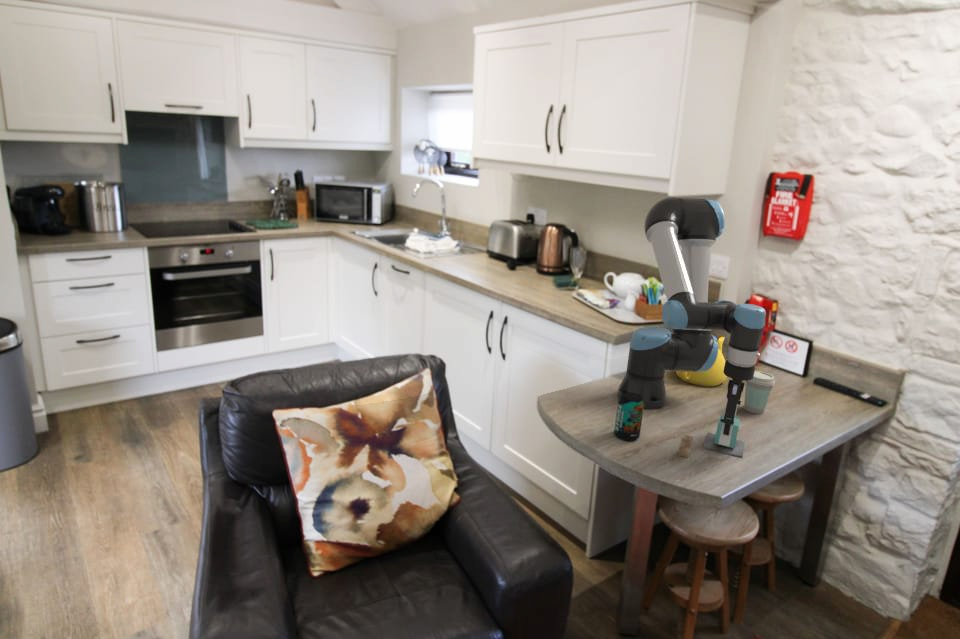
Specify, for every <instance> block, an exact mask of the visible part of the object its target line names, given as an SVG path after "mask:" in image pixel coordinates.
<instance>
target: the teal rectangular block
mask: <svg viewBox="0 0 960 639" xmlns="http://www.w3.org/2000/svg"><path fill="white" fill-rule="evenodd" d="M724 415H725V414H720V415H719V418H718V422H717V427H716V433H715V434H716V437H715V442H714V443H715V444H718V443H719V438H720V433H721V428H722V423H723V422H720V420H721V419H724ZM727 419H729V418H727ZM740 423H741V418H736V417H735V418H734V425H733V430H732V435H731V440H730V445H729V446H727V447H730V448H734V447H735V442H736V440H737V437H738V432H739V428H740ZM719 445H721V444H719ZM723 446H725V445H723Z"/></svg>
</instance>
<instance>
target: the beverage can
mask: <svg viewBox="0 0 960 639" xmlns="http://www.w3.org/2000/svg"><path fill="white" fill-rule="evenodd" d="M621 396H622V397H621V398H620V399H619V398H618V401H617V408H616V414H615V415H616V416H615V421H614V429H613V433H614V436H616V438H618V439H619V440H622V441H627V442H633V441H636V440H638V439H639V438H640V435H641V428H642V425H643V424H642V422H643V416H644V409H645V408H644V402H643V397H642V396H640V395H638V394H636V393H630V392H627V393H623V394H622V395H621Z"/></svg>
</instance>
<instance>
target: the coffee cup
mask: <svg viewBox="0 0 960 639" xmlns="http://www.w3.org/2000/svg"><path fill="white" fill-rule="evenodd" d="M775 383H776V381H775V376H774V375H773V374H771V373H769V372H767V371H761V370H755V372H754V377H753V379H751V380H748V381H745V390H744V391H745V392H744V393H745V394H744V401H743V402H744V405H743V407H744V410H745V411H747V412H749V413H752V414H756V415H760V414H761V415H762V414H764V413H765V410H766V406H767V404H768V402H769V398H770V395H771V392H772V390H773V388H774V385H775Z"/></svg>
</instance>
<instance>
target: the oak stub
mask: <svg viewBox="0 0 960 639" xmlns="http://www.w3.org/2000/svg"><path fill="white" fill-rule="evenodd" d="M693 439H694V436H692V435H688V434H682V436H681V439H680V444H679V450H678V453H677V454H678V456H679V457H683V458H689V457H690V454H691V451H692V450H691V449H692V444H693Z"/></svg>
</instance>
